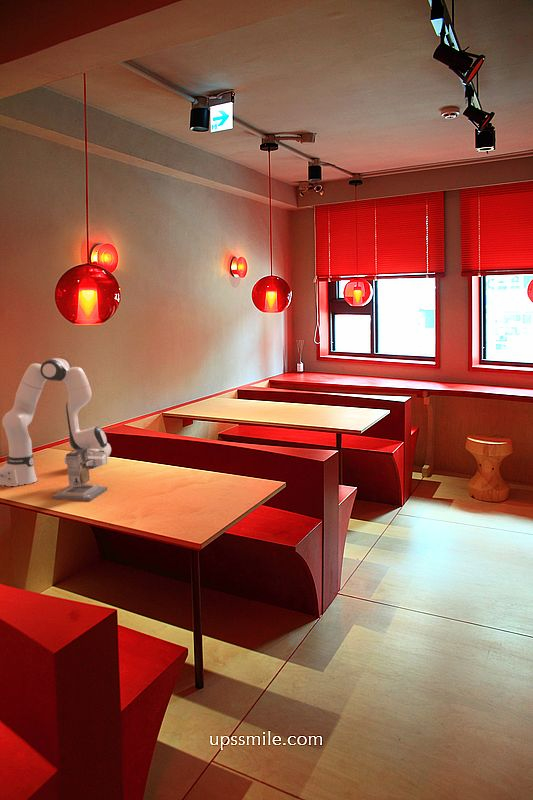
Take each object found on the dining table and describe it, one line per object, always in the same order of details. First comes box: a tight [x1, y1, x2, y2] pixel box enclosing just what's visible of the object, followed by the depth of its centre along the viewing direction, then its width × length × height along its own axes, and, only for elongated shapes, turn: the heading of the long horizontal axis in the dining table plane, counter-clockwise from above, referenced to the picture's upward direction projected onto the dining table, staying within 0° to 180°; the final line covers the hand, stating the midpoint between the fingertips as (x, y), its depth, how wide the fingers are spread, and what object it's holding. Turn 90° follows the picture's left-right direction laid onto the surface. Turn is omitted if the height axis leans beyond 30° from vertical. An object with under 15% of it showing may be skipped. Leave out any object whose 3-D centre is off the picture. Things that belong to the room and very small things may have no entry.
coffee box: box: [65, 449, 90, 487], centre depth 296 cm, size 9×6×16 cm
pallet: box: [51, 483, 108, 502], centre depth 299 cm, size 20×18×3 cm
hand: (77, 464), depth 296 cm, fingers closed on coffee box, 6 cm apart
